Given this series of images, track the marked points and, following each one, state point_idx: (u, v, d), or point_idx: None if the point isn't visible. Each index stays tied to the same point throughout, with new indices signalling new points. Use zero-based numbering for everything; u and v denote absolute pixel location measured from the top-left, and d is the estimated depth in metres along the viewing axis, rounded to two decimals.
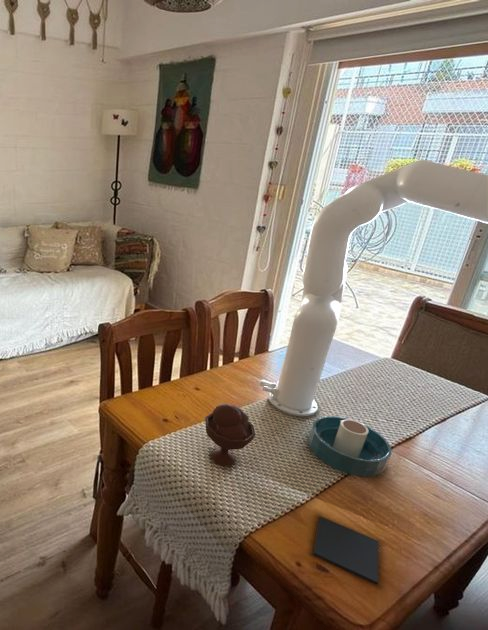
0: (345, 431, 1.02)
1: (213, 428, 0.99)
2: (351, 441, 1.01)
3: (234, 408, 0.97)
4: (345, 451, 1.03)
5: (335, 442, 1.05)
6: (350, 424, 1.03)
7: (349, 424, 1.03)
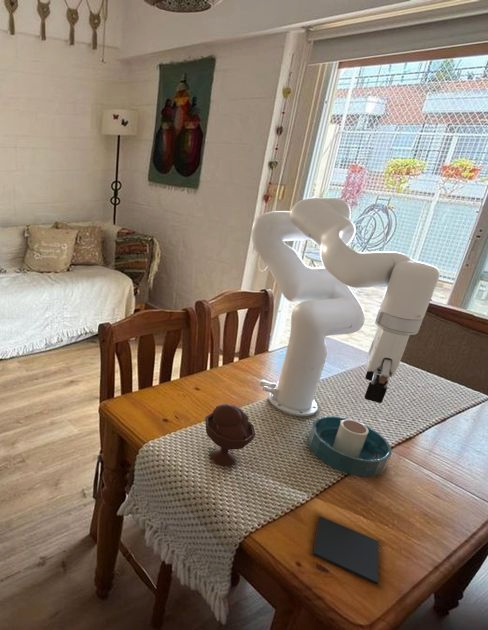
0: (345, 431, 1.02)
1: (213, 428, 0.99)
2: (351, 441, 1.01)
3: (234, 408, 0.97)
4: (345, 451, 1.03)
5: (335, 442, 1.05)
6: (350, 424, 1.03)
7: (349, 424, 1.03)
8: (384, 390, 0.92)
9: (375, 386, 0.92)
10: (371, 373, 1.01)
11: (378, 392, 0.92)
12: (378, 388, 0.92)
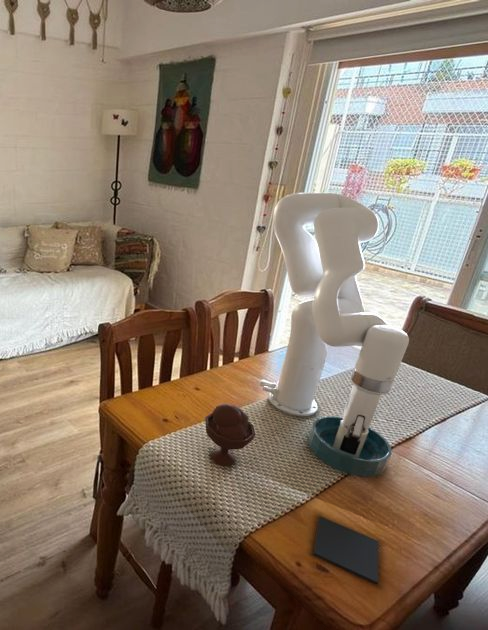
0: (345, 431, 1.02)
1: (213, 428, 0.99)
2: None
3: (234, 408, 0.97)
4: None
5: (335, 442, 1.05)
6: None
7: None
8: (357, 443, 1.00)
9: (349, 439, 1.00)
10: None
11: (352, 445, 1.00)
12: (352, 441, 1.00)
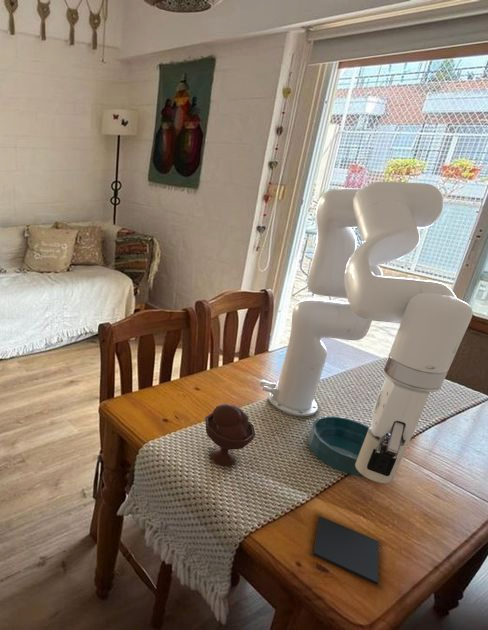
0: (375, 443, 0.73)
1: (213, 428, 0.99)
2: None
3: (234, 408, 0.97)
4: None
5: (360, 458, 0.77)
6: None
7: None
8: (392, 461, 0.72)
9: (381, 455, 0.72)
10: None
11: (385, 463, 0.72)
12: (385, 458, 0.71)
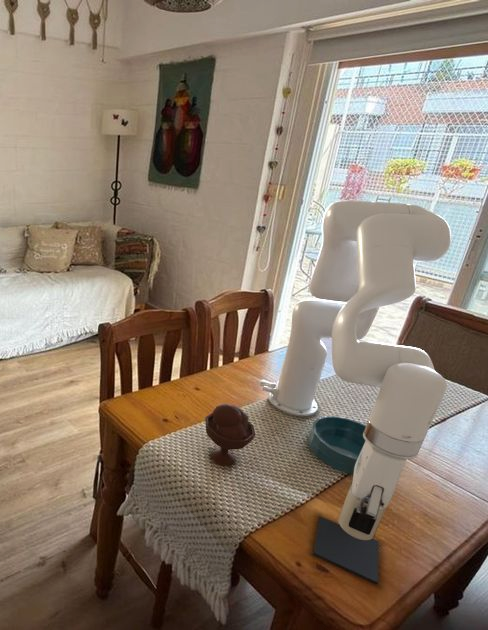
0: (356, 502, 0.76)
1: (213, 428, 0.99)
2: None
3: (234, 408, 0.97)
4: None
5: (342, 514, 0.79)
6: None
7: None
8: (372, 521, 0.74)
9: (361, 515, 0.74)
10: None
11: (365, 523, 0.74)
12: (365, 518, 0.74)
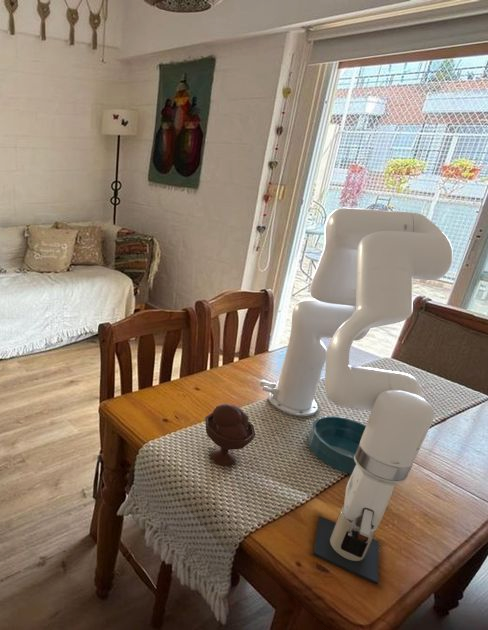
0: (346, 524, 0.78)
1: (213, 428, 0.99)
2: None
3: (234, 408, 0.97)
4: None
5: (334, 535, 0.81)
6: None
7: None
8: (364, 544, 0.74)
9: (353, 539, 0.74)
10: None
11: (357, 546, 0.75)
12: (357, 542, 0.74)
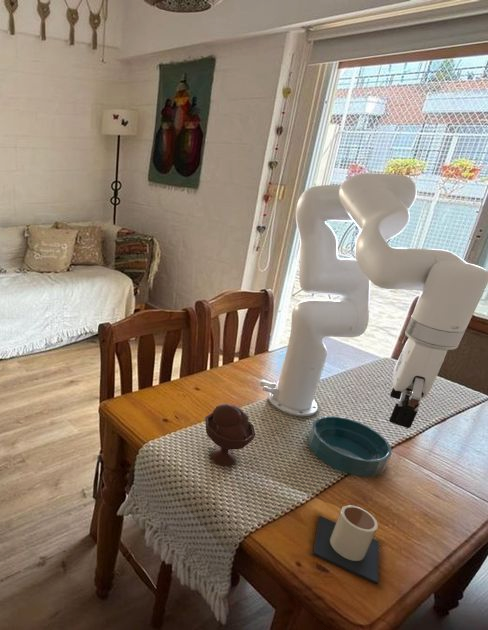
0: (346, 524, 0.78)
1: (213, 428, 0.99)
2: (355, 538, 0.77)
3: (234, 408, 0.97)
4: (347, 550, 0.79)
5: (334, 535, 0.81)
6: (353, 514, 0.79)
7: (352, 514, 0.79)
8: (414, 413, 0.78)
9: (403, 408, 0.78)
10: (397, 390, 0.87)
11: (406, 416, 0.78)
12: (406, 411, 0.78)
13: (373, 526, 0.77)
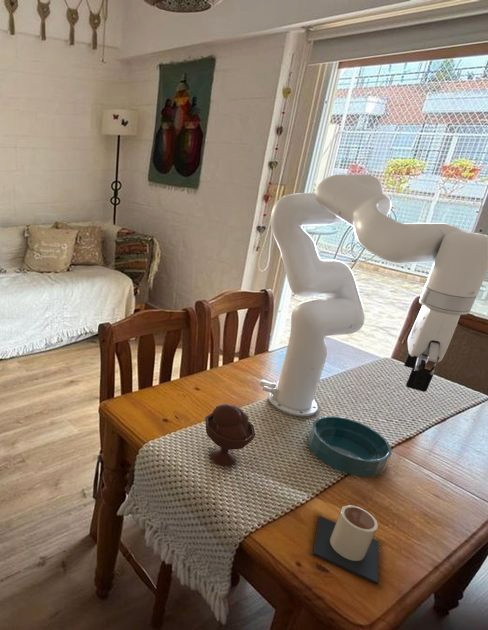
0: (346, 524, 0.78)
1: (213, 428, 0.99)
2: (355, 538, 0.77)
3: (234, 408, 0.97)
4: (347, 550, 0.79)
5: (334, 535, 0.81)
6: (353, 514, 0.79)
7: (352, 514, 0.79)
8: (429, 377, 0.83)
9: (419, 372, 0.83)
10: (411, 359, 0.92)
11: (423, 379, 0.83)
12: (423, 375, 0.82)
13: (373, 526, 0.77)
